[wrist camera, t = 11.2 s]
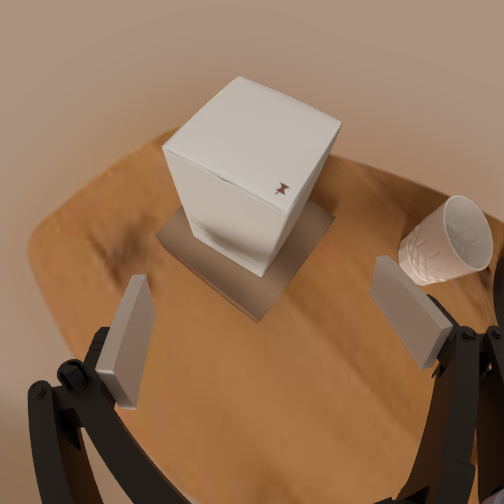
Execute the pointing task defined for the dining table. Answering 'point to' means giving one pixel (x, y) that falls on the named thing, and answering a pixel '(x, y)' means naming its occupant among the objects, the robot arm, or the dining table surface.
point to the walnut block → (236, 276)
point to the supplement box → (249, 169)
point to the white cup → (447, 243)
